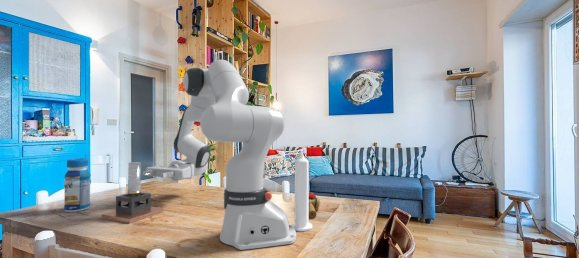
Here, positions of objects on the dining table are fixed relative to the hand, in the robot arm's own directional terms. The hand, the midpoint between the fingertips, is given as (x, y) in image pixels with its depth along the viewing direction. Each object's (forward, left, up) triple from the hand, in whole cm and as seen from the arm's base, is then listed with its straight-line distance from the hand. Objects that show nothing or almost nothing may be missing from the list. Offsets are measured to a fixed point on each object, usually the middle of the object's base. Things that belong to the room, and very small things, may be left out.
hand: (152, 174), depth 108 cm
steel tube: (+4, +8, -12) cm, 15 cm away
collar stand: (+4, +8, -14) cm, 16 cm away
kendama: (-63, +8, -14) cm, 65 cm away
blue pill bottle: (+29, -2, -14) cm, 33 cm away
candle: (-57, +26, -14) cm, 64 cm away
